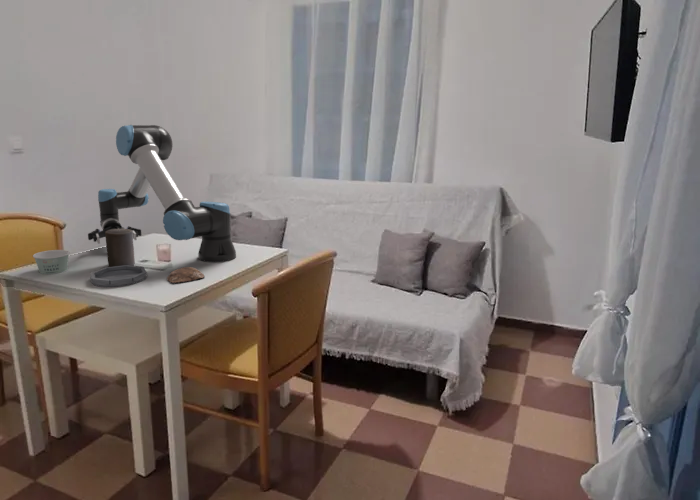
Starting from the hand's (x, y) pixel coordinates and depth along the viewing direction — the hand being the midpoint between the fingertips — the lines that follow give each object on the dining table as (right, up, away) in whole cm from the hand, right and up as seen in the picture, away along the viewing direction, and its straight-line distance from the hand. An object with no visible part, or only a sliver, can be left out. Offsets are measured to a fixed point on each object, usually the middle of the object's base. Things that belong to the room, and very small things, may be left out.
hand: (117, 238), depth 207 cm
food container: (-17, -12, -14) cm, 26 cm away
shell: (+34, -15, -20) cm, 42 cm away
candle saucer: (+11, -15, -23) cm, 30 cm away
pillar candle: (+5, -11, -6) cm, 13 cm away
